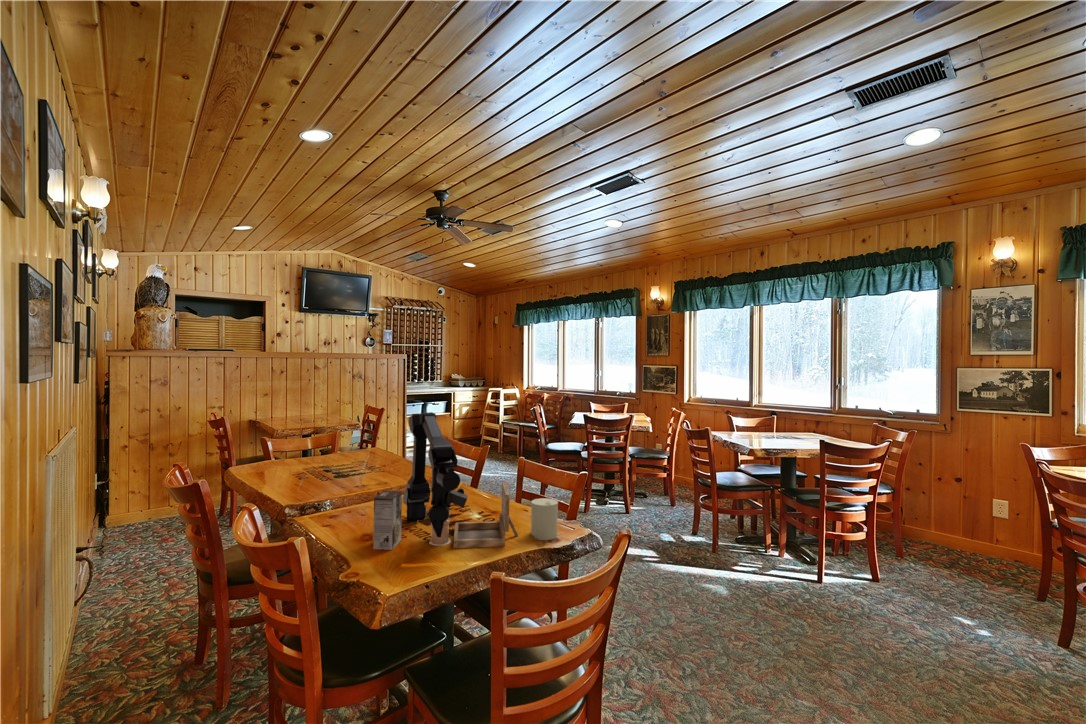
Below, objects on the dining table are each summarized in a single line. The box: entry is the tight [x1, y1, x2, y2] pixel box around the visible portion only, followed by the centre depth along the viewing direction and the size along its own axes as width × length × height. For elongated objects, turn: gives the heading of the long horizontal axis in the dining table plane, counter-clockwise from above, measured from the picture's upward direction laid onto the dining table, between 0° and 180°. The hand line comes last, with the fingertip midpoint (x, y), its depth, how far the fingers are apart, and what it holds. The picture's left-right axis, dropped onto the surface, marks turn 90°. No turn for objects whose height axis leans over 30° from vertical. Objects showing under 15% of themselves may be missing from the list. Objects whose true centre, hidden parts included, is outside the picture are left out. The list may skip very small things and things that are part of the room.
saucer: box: [428, 538, 452, 547], centre depth 165 cm, size 7×7×1 cm
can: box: [530, 497, 559, 541], centre depth 175 cm, size 9×9×12 cm
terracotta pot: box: [430, 517, 451, 544], centre depth 165 cm, size 6×6×7 cm
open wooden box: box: [453, 480, 519, 549], centre depth 170 cm, size 21×19×17 cm
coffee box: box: [372, 490, 403, 551], centre depth 164 cm, size 9×6×16 cm
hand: (440, 532), depth 165 cm, fingers open, 9 cm apart
